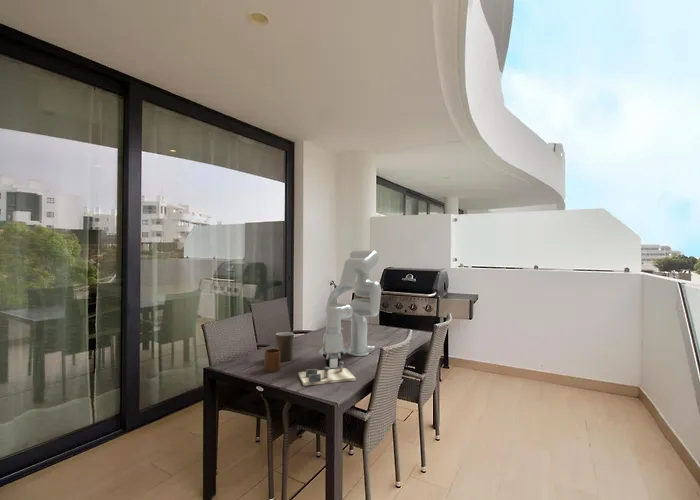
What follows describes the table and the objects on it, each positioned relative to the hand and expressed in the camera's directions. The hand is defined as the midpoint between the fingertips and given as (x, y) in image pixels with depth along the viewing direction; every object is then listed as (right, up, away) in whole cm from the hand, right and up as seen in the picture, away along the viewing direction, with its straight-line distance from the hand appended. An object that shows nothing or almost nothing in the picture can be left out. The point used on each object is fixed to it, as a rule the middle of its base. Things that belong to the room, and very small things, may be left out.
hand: (332, 365), depth 175 cm
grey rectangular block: (0, -1, 0) cm, 1 cm away
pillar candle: (-27, 0, +11) cm, 29 cm away
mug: (-29, 0, -5) cm, 29 cm away
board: (-2, 0, -15) cm, 16 cm away
